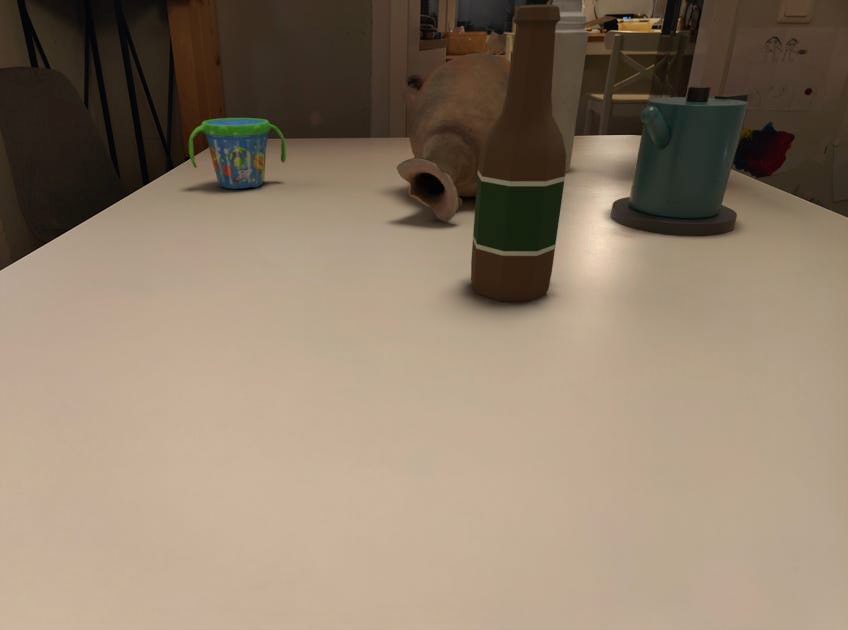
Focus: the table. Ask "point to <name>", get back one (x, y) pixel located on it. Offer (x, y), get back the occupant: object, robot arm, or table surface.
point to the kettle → (687, 153)
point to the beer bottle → (521, 172)
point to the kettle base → (673, 221)
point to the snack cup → (237, 149)
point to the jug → (451, 128)
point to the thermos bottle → (568, 69)
